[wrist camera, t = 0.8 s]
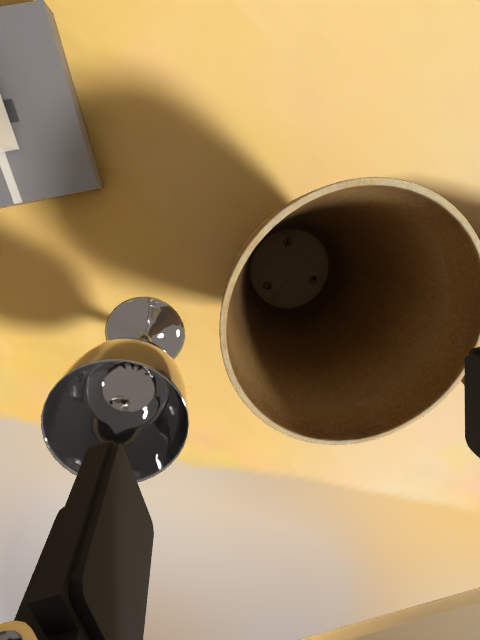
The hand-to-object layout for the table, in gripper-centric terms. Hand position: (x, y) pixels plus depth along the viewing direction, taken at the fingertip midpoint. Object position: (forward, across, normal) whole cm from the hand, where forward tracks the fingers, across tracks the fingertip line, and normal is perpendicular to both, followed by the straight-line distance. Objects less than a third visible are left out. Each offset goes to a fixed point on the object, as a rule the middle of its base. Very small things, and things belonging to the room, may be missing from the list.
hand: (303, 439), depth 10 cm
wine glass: (+26, +8, +5) cm, 28 cm away
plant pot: (+26, -6, +2) cm, 27 cm away
